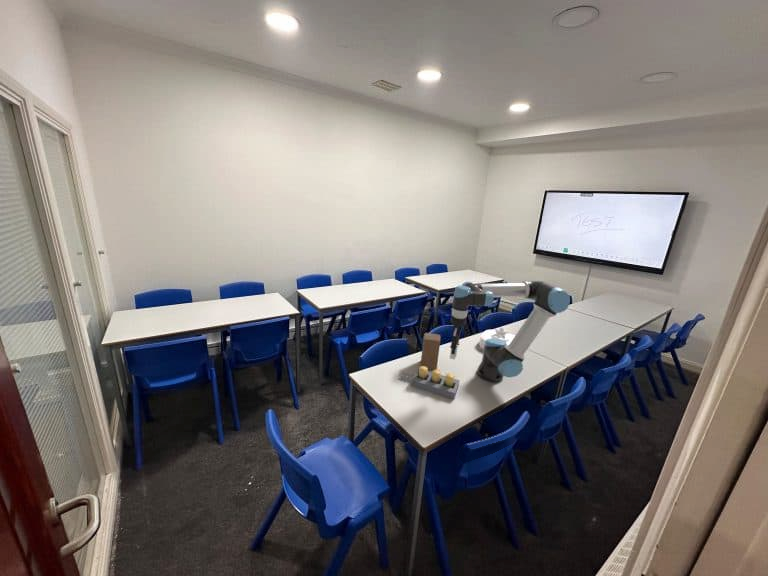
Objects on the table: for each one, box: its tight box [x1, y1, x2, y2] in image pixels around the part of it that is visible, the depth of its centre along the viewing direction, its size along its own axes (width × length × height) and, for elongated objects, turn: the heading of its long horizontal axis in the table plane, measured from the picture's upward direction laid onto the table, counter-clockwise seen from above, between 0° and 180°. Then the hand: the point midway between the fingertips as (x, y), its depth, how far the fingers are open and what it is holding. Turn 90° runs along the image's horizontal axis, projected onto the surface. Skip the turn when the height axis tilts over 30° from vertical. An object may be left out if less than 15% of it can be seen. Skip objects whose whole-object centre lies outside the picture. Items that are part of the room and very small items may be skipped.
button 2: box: [431, 369, 442, 382], centre depth 165 cm, size 5×5×5 cm
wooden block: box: [419, 332, 441, 371], centre depth 184 cm, size 10×10×20 cm
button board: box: [410, 368, 460, 400], centre depth 166 cm, size 24×13×4 cm, turn 66°
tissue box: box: [478, 326, 516, 351], centre depth 214 cm, size 25×25×16 cm
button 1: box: [445, 373, 456, 386], centre depth 162 cm, size 5×5×5 cm
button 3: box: [418, 366, 429, 378], centre depth 167 cm, size 5×5×5 cm
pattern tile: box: [399, 372, 415, 384], centre depth 173 cm, size 7×7×1 cm
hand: (453, 357), depth 158 cm, fingers open, 2 cm apart
